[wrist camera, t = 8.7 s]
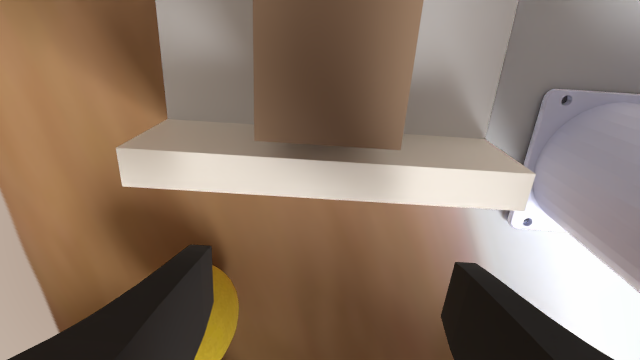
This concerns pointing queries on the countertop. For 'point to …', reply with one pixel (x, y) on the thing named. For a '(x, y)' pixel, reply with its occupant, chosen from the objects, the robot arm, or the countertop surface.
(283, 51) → the cabinet block
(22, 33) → the countertop surface
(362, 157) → the white stand
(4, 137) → the countertop surface
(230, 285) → the lemon
